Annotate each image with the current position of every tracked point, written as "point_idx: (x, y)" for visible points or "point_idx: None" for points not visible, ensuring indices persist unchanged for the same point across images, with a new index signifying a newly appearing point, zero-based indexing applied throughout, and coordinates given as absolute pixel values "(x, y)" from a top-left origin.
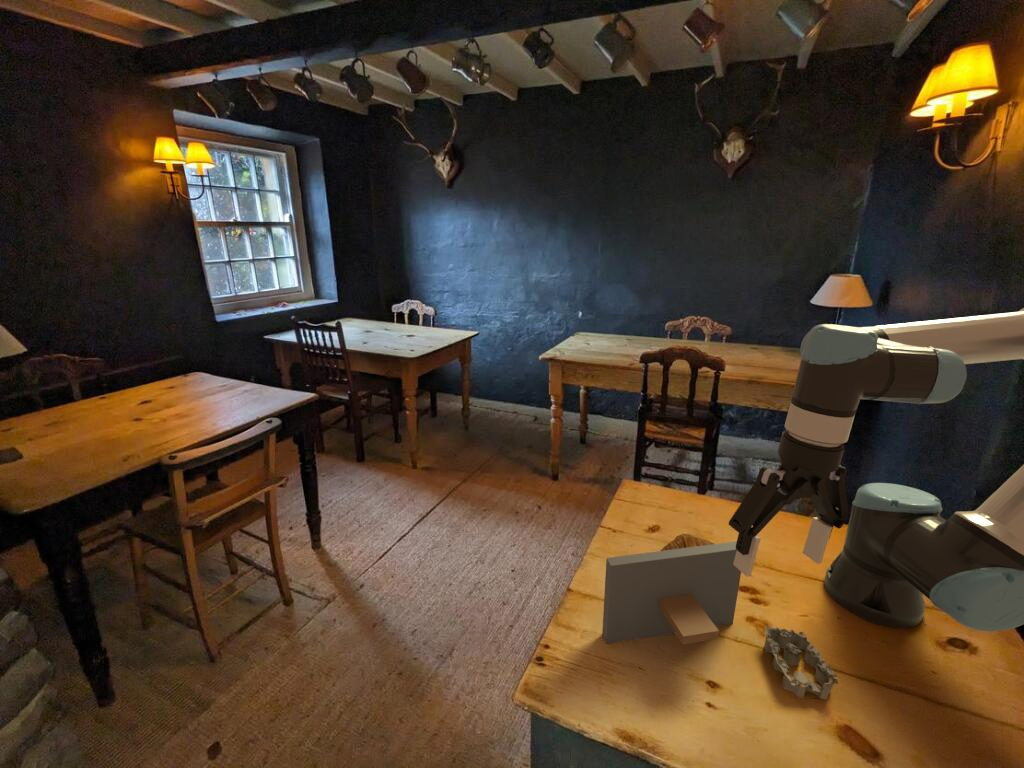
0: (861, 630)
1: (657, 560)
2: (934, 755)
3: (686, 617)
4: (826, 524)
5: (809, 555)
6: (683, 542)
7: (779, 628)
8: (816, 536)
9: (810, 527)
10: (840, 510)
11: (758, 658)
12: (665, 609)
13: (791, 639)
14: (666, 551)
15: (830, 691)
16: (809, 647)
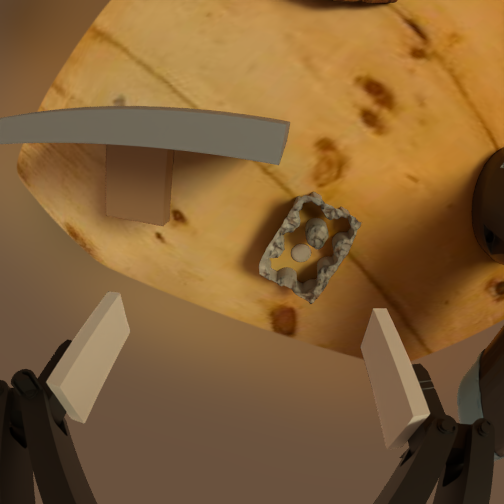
0: (451, 234)
1: (35, 142)
2: (339, 349)
3: (128, 183)
4: (403, 439)
5: (368, 331)
6: None
7: (328, 205)
8: (385, 387)
9: (402, 381)
10: (437, 487)
11: (271, 208)
12: (106, 155)
13: (344, 210)
14: (59, 116)
15: (315, 280)
16: (342, 243)
